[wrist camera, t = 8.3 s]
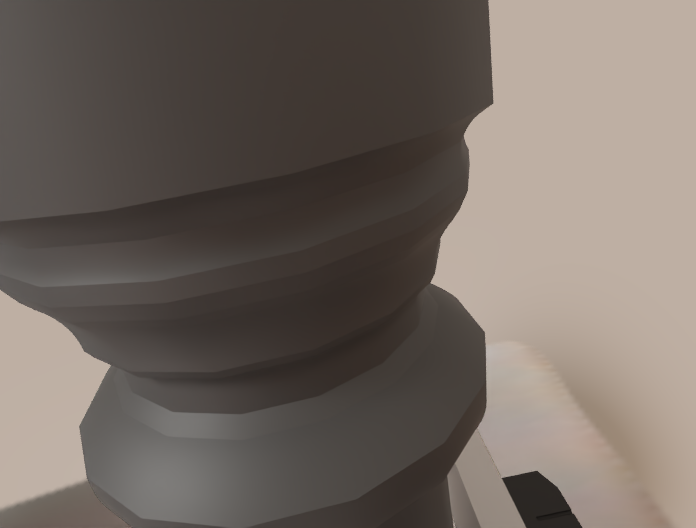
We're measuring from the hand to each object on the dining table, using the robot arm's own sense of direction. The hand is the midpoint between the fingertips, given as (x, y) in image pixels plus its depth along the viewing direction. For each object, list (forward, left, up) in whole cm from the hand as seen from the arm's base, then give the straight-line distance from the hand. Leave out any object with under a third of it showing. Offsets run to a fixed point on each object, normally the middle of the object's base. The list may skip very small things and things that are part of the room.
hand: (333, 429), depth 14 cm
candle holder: (0, -5, -13) cm, 14 cm away
